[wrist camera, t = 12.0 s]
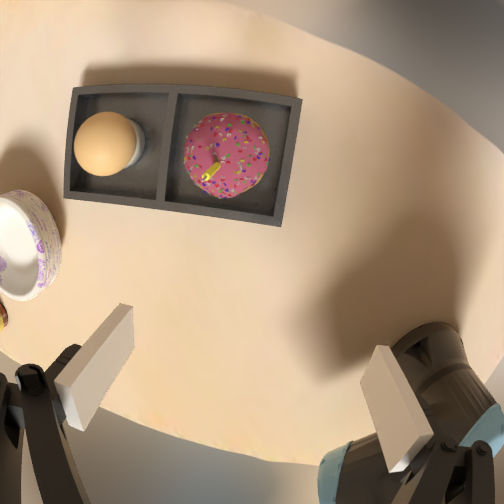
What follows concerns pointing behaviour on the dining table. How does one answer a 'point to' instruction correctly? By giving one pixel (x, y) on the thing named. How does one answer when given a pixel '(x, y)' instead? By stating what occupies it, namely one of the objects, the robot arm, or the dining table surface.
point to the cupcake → (226, 154)
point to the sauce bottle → (3, 318)
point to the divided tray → (183, 149)
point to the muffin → (108, 143)
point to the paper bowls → (27, 245)
